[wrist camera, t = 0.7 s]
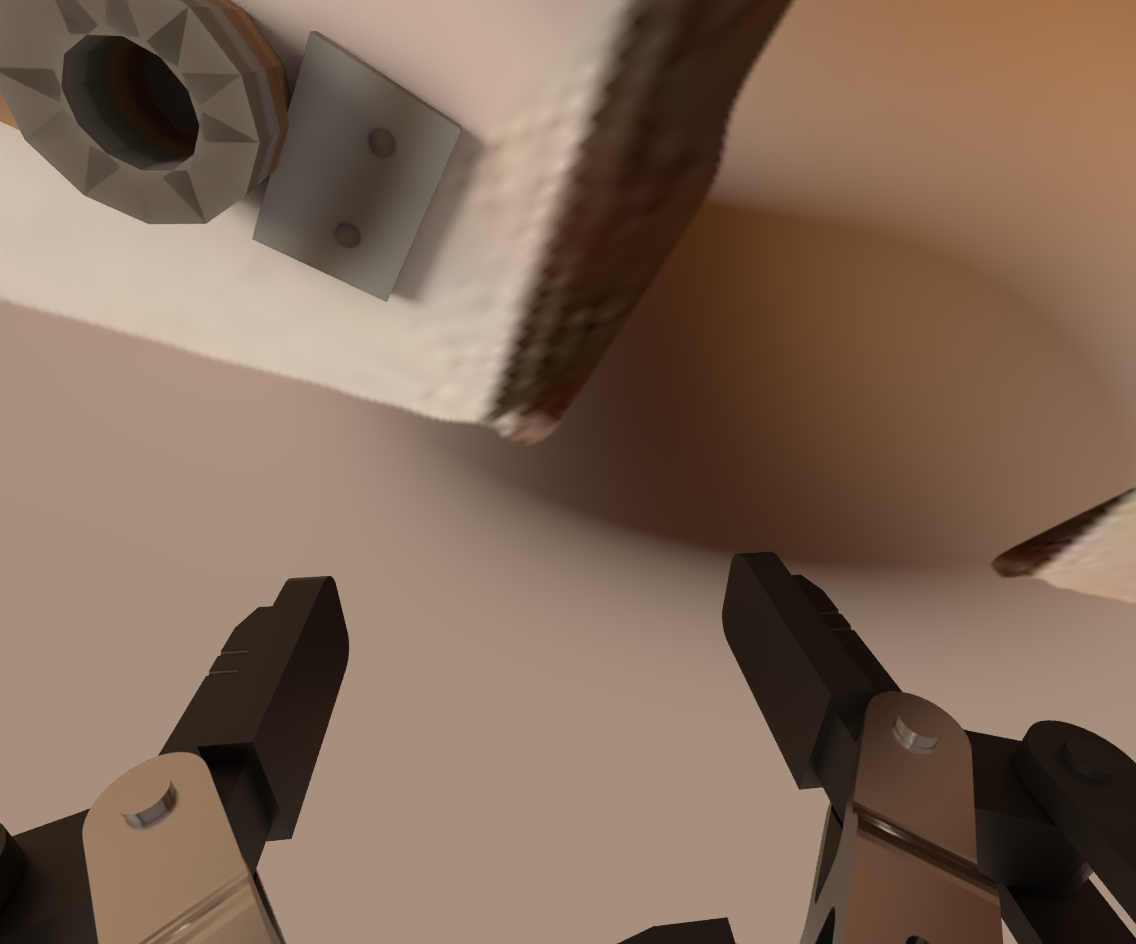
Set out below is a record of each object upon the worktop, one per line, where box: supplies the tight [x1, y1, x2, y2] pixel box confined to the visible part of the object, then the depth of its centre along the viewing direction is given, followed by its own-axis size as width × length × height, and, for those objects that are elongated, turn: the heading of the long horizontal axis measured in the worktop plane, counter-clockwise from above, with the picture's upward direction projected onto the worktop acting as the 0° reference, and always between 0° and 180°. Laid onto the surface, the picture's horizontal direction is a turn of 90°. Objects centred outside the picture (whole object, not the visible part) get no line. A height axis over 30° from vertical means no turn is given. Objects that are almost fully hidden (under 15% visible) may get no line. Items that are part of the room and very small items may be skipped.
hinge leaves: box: [0, 0, 461, 302], centre depth 23 cm, size 22×10×7 cm, turn 58°
